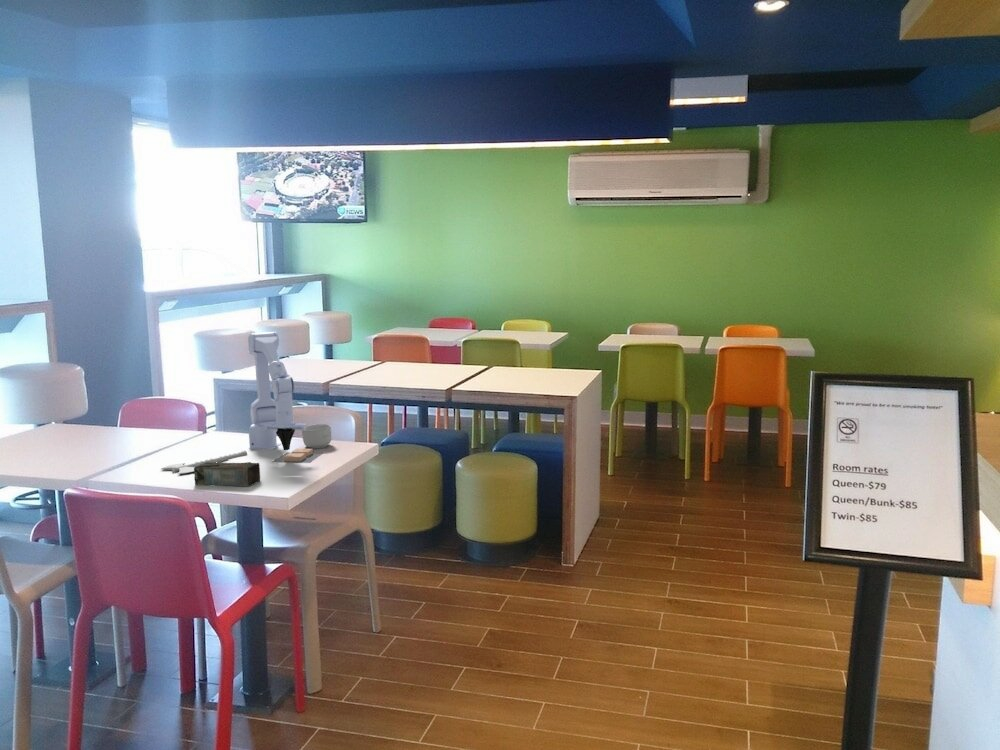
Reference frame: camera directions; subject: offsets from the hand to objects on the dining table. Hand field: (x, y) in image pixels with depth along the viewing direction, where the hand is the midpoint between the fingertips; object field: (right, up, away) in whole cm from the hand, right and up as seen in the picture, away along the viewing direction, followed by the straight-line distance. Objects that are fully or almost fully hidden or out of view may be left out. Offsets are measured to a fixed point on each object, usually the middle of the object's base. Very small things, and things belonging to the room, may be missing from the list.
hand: (286, 449), depth 298 cm
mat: (+3, -3, +4) cm, 6 cm away
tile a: (+1, -2, +7) cm, 7 cm away
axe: (-27, -6, -2) cm, 27 cm away
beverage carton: (-12, -9, -26) cm, 30 cm away
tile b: (0, -3, 0) cm, 3 cm away
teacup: (+6, -1, +22) cm, 23 cm away
